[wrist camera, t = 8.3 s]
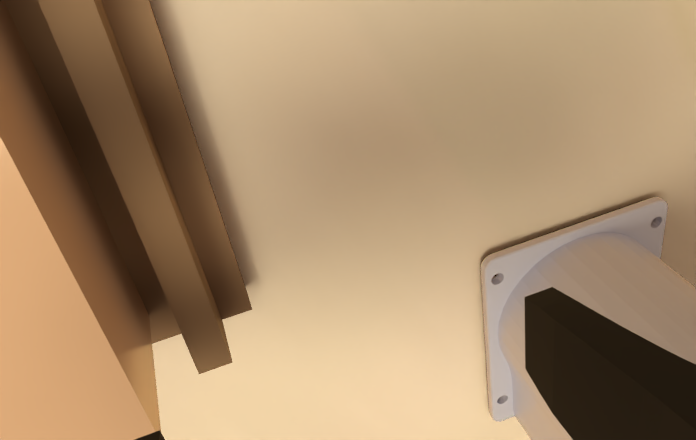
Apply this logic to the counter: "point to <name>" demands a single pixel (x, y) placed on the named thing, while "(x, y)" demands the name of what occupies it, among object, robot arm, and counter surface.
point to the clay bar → (61, 283)
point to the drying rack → (139, 162)
